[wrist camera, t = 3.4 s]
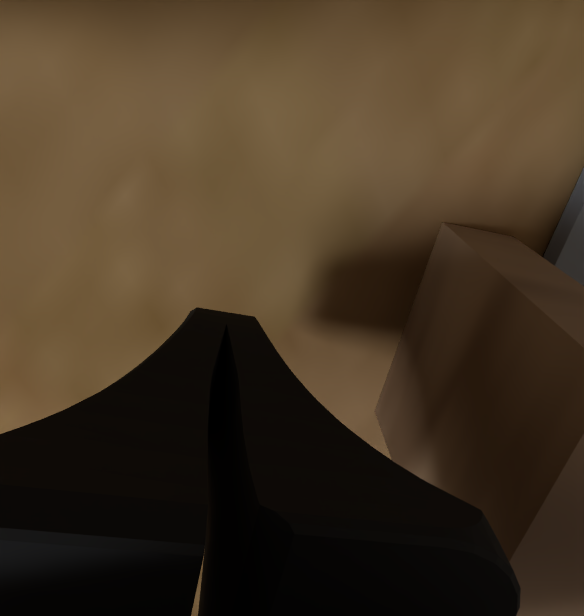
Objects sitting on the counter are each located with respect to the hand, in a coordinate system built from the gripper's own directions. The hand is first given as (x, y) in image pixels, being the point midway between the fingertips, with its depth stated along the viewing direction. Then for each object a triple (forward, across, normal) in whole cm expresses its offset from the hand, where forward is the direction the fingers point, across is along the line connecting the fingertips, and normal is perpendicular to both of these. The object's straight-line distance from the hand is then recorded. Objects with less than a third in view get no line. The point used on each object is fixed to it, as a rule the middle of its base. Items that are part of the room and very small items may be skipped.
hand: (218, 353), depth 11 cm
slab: (+3, -6, 0) cm, 7 cm away
